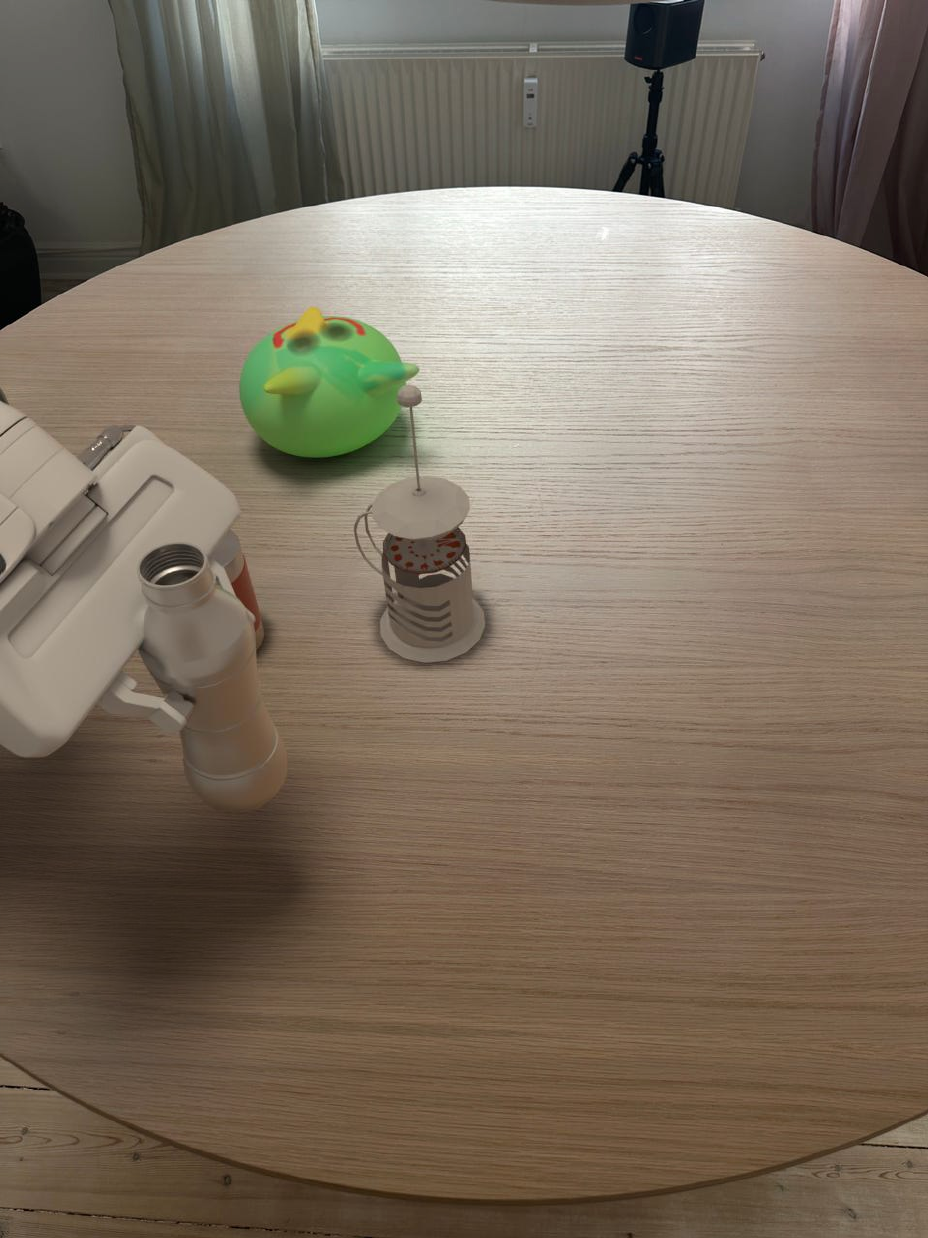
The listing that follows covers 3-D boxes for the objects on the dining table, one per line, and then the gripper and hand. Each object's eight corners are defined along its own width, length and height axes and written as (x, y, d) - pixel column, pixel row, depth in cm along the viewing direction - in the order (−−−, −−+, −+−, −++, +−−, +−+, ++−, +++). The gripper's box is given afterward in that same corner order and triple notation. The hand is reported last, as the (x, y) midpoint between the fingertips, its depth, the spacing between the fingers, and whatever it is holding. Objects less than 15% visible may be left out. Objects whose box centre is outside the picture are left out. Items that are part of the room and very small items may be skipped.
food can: (185, 669, 88) (152, 579, 80) (197, 615, 93) (166, 525, 85) (261, 664, 88) (234, 574, 80) (269, 611, 92) (244, 521, 85)
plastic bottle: (223, 735, 69) (149, 514, 55) (310, 760, 67) (257, 538, 53) (175, 810, 65) (80, 591, 50) (266, 838, 63) (196, 620, 49)
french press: (452, 677, 86) (432, 438, 68) (342, 634, 90) (295, 399, 72) (504, 606, 91) (498, 369, 74) (398, 568, 96) (368, 336, 78)
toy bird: (384, 386, 119) (370, 270, 108) (435, 461, 108) (425, 341, 97) (239, 424, 114) (210, 307, 104) (276, 507, 103) (248, 385, 93)
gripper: (102, 435, 62) (268, 579, 66) (-131, 667, 48) (97, 828, 53) (145, 383, 58) (319, 541, 62) (-98, 623, 44) (147, 802, 49)
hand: (216, 675), depth 57 cm, fingers closed on plastic bottle, 6 cm apart
